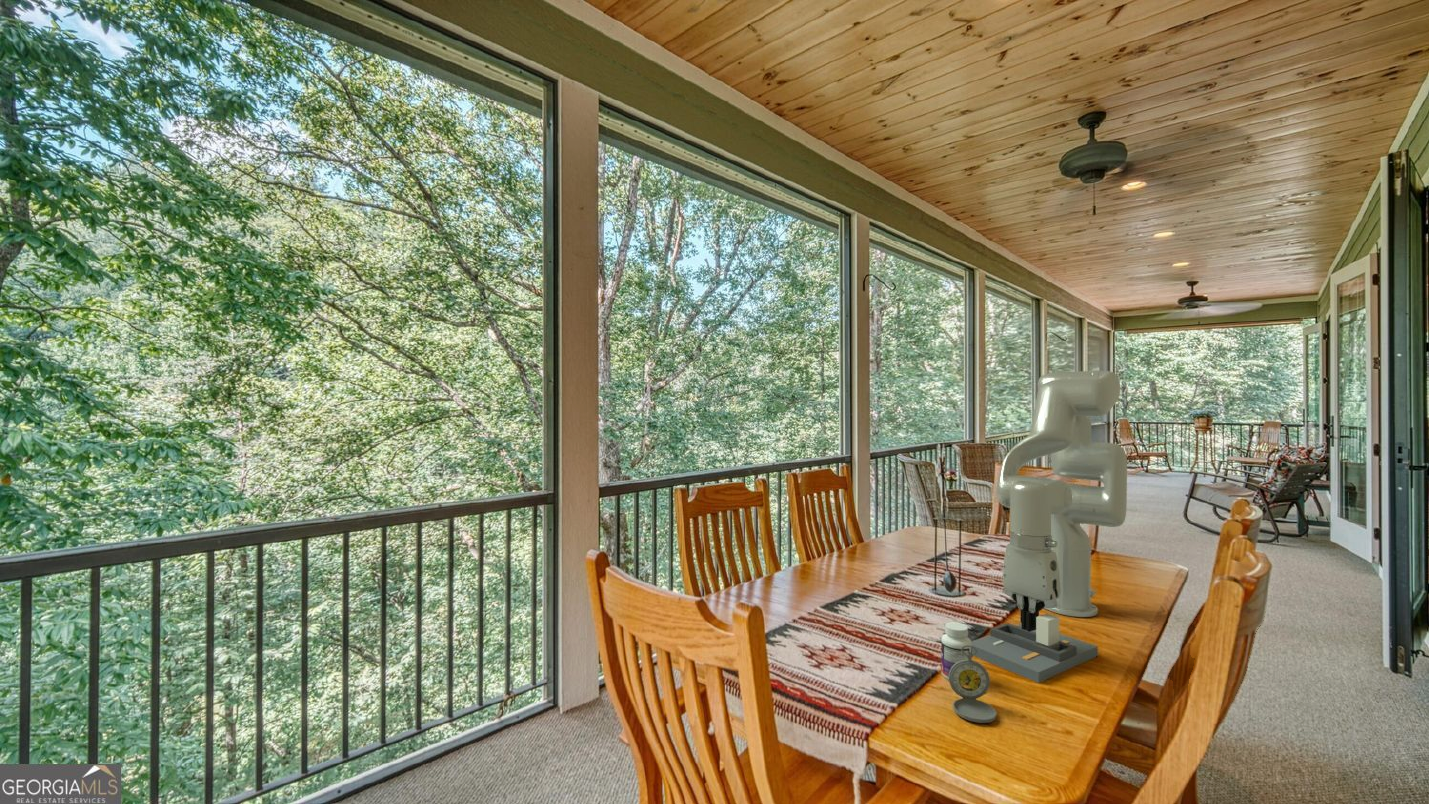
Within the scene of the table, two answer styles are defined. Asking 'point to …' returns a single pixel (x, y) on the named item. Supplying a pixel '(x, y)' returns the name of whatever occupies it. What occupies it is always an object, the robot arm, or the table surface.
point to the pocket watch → (971, 689)
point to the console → (1031, 652)
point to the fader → (1048, 631)
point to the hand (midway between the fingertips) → (1029, 628)
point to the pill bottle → (954, 646)
